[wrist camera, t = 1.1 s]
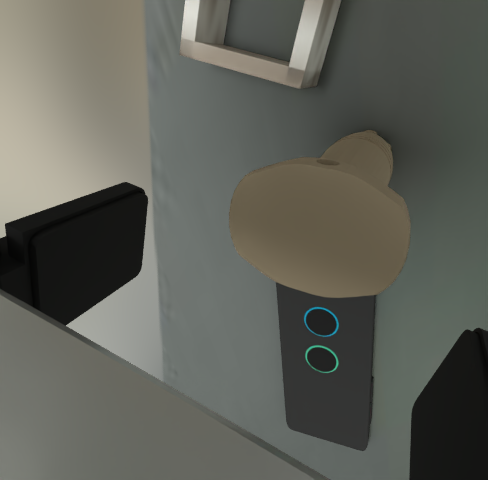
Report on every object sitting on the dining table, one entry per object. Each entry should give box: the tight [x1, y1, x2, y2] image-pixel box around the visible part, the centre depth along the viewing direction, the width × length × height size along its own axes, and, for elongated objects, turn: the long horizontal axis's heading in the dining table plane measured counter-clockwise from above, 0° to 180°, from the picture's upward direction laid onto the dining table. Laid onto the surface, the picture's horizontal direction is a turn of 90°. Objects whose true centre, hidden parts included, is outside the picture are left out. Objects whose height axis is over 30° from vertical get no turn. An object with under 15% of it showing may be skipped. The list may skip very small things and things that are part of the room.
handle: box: [229, 130, 410, 298], centre depth 19 cm, size 5×6×15 cm
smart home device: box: [276, 282, 375, 451], centre depth 33 cm, size 8×2×20 cm
